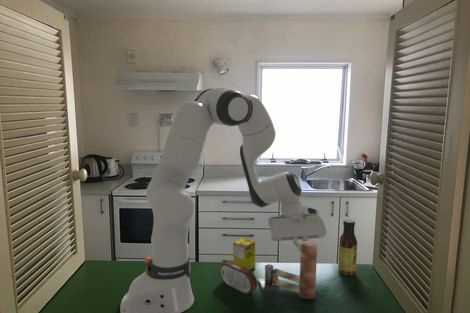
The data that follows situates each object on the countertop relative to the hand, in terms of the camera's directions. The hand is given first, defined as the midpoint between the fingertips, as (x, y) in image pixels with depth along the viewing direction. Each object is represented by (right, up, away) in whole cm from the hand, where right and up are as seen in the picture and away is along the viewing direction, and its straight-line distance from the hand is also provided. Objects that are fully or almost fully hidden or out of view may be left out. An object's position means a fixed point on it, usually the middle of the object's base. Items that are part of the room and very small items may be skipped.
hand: (302, 250), depth 121 cm
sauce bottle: (+18, -10, +7) cm, 22 cm away
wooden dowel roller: (-5, -11, -7) cm, 14 cm away
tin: (-23, -12, -4) cm, 26 cm away
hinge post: (-12, -11, -2) cm, 17 cm away
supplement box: (-20, -10, +10) cm, 24 cm away
